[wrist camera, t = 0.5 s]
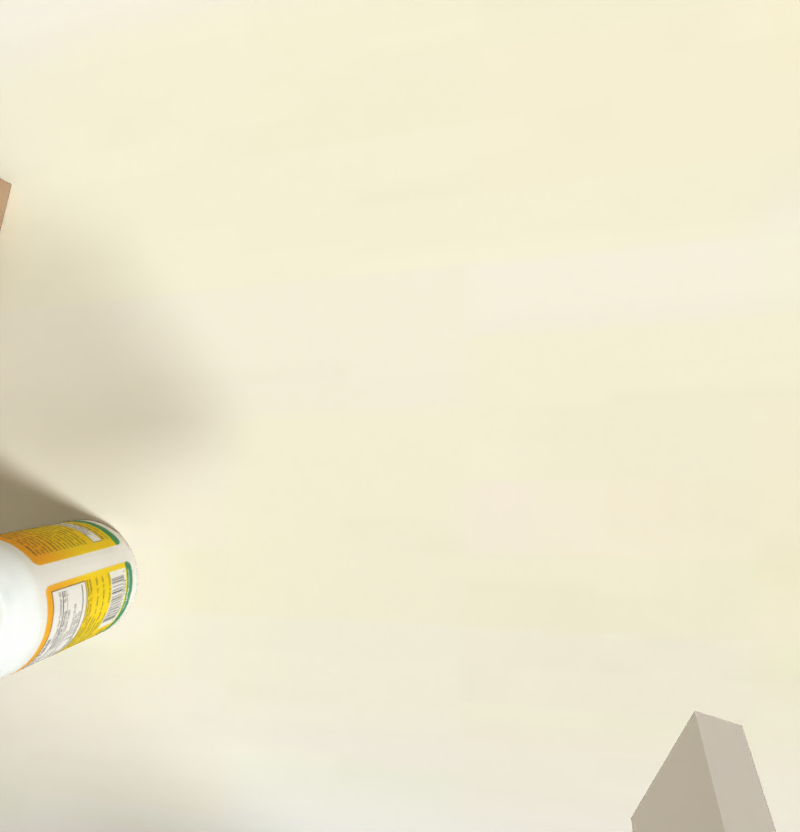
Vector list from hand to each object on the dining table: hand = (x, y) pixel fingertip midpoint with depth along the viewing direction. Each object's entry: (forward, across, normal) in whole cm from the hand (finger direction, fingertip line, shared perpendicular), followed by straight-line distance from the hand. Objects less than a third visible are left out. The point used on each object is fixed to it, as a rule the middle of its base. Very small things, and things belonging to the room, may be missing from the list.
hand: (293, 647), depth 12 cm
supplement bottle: (+15, +13, +15) cm, 25 cm away
